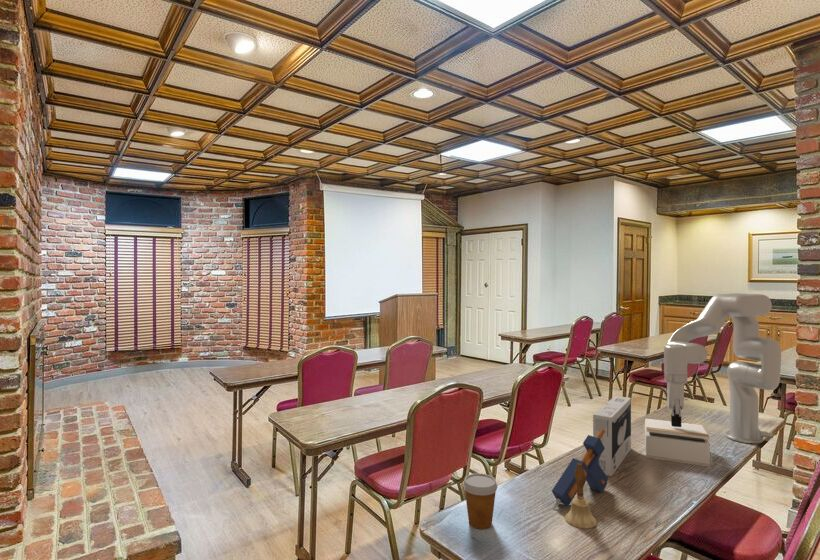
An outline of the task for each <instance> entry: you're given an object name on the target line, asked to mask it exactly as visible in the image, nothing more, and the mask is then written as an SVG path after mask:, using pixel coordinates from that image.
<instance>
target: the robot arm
mask: <svg viewBox="0 0 820 560" xmlns="http://www.w3.org/2000/svg"><path fill="white" fill-rule="evenodd" d="M772 308H773V304H772V301H771V298H770V297H768V296H767V295H766V294H760V293H757V294H756V293H739V292H738V293H737V292H736V293H735V292H733V293H732V292H731V293H727V294H726V293H723V294H722V293H721V294H720V293H719V294H716V295H713V296H712V297H711V298H709V301H708V302H707V303H706V305H705V307H703V309H702V311H701V312H700V314H699V315H698V317H697V318H696V319H694V320H692V321H690V322H688V323H687V324H684V325H682V326H681V327H680V328H678V329H677V330H676V331H675V332H674V333H673V334H672V335H671V336H670V338H669V339H668V341H667V342H666V345H665V346H664V348H663V367H664V368H663V371H664V372H663V375H664V378H663V381H664V382H665V383H666V405H667V408H668V409H669V410H671V415H670V421H671V425H672V426H674V427H681V423H682V411H683V410H684V408H685V407H684V405H685V385H686V384H688V364H693V365H694V364H695V365H696V364H699V365H700V364H702V363H704V362H705V361H706V360H707V358H708V356H709V353H708V350H707V347H705V346H704V345H702V344H700V343H694V342H690V341H693V340H695V339H697V338H703V337H707V336H712V335H715V334H717V333H719V332H720V330H721V329H722V327H724V324H725V323H726V321H727V320H728V319H729V317H730V319H732V324H733V334H732V335H733V339H732V351H733V354H734V356H736V357H738V358H739V359H740V358H741V359H746V360H751V361H757V362H760V363H761V364H760V363H759V364H758V363H754V362H750V361H749V362H748V361H741V360H739V361H738V360H736V361H733V362H731V363H730V364H728V366H727V369H726V374H727V379H728V384H729V386H728V387H729V430H727V431H725V434H724V435H725V437H726V438H727V439H730V440H731V441H732V440H733V441H736V442H739V443H745V444H751V443H752V444H751V445H753V444H762V443H763V442H764V438H767V439H773V438H774V433H772V432H768V431H765V430H764V431H762V430H760V427H759V407H760V406H759V402H760V401H759V395H758V393H757V390H756V389H761V390H766V391H774V390H776V389H777V388H778V387H779V385H780V382H781V369H782V367H781V366H782V347H781V345H780V344H779V342H778V341H777V340H775V339H773V338H771V337H770V338H769V337H761V336H760V323H759V320H758V318H757V317H764V316H767V315H768V314H770V312H771V310H772ZM755 388H756V389H755Z"/></svg>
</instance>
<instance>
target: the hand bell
mask: <svg viewBox="0 0 820 560" xmlns="http://www.w3.org/2000/svg"><path fill="white" fill-rule="evenodd" d="M575 480H576V483H577V493H576V497H574V498H573V500H572V501H571V507H570V510H569V511H568V512H567V513H566V514H565V516H564V519H565V521H566V523H568V525H571V526H572V527H575V528H579V529H592V528H594V527H597V525H598V523H597V519H596V518H595V517H594V515H593V513H592V512H591V507H590V502H589V501H588V500H587V499H586V498H585V497H584V487H583V484H584V480H585V473H584V469H583V466H582V464H581V463H577V467H576V470H575Z"/></svg>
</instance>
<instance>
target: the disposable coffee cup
mask: <svg viewBox="0 0 820 560" xmlns="http://www.w3.org/2000/svg"><path fill="white" fill-rule="evenodd" d="M462 487H463V489H464V494H465V501H466V509H467V516H468V523H469V525H470V526H471V528H474V529H478V530H486V529H490V528H491V527H492V524H493V516H494V508H495V501H496V494H497V493H496V492H497V489H498V488H499V487H498V483H497V481H496V478H495V477H493V475H489V474H486V473H480V472H477V473H471V474H468V475H466V476H465V477H464V480H463V482H462Z"/></svg>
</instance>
